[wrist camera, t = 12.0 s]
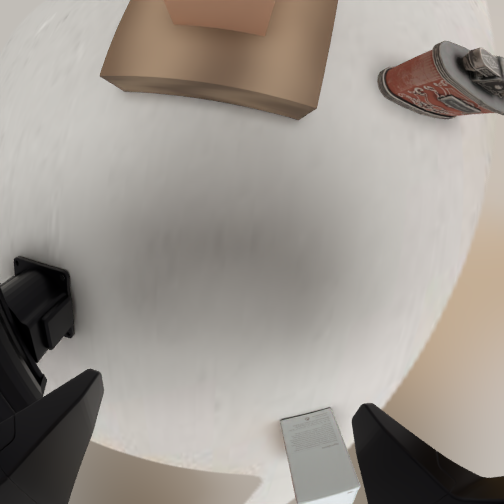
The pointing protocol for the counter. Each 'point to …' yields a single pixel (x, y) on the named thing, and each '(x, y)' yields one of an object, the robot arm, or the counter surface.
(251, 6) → the terracotta block
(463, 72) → the lighter
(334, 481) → the small box
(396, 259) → the counter surface
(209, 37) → the plate
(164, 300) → the counter surface
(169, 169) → the counter surface
